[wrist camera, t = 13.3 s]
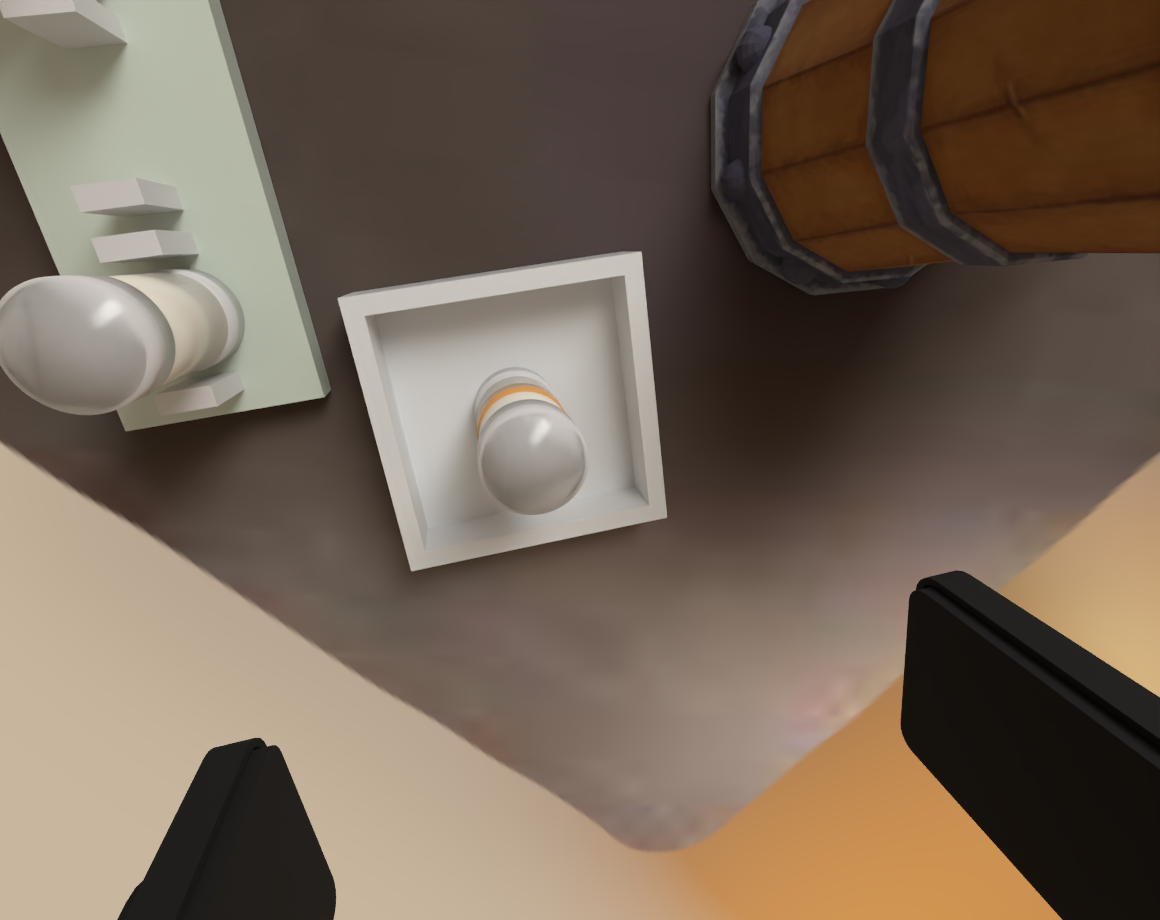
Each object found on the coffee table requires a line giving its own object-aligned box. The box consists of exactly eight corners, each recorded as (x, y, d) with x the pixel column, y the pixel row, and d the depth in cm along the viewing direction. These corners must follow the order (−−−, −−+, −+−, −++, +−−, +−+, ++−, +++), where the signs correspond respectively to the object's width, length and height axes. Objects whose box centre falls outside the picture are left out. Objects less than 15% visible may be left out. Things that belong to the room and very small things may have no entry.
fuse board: (-131, -252, 19) (-300, -395, 15) (143, -263, 20) (57, -401, 16) (143, 421, 26) (83, 454, 22) (331, 389, 27) (307, 414, 23)
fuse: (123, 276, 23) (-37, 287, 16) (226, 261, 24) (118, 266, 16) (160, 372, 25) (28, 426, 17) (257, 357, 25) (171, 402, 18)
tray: (353, 292, 26) (337, 298, 23) (620, 251, 28) (641, 251, 24) (416, 537, 30) (411, 571, 27) (646, 490, 32) (667, 517, 29)
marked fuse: (466, 374, 27) (467, 421, 20) (549, 360, 28) (580, 400, 20) (482, 453, 29) (489, 524, 21) (561, 438, 29) (595, 503, 22)
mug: (1082, -142, 26) (2640, -1131, 7) (1089, 203, 31) (2010, 134, 13) (667, 8, 25) (1262, -698, 6) (747, 339, 30) (1201, 479, 12)
